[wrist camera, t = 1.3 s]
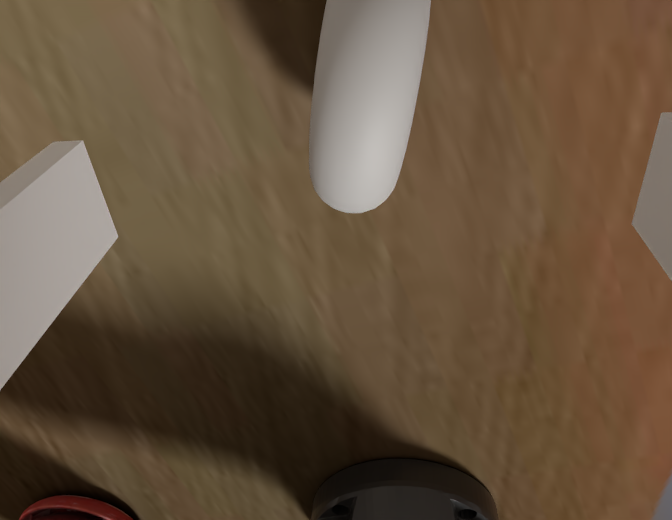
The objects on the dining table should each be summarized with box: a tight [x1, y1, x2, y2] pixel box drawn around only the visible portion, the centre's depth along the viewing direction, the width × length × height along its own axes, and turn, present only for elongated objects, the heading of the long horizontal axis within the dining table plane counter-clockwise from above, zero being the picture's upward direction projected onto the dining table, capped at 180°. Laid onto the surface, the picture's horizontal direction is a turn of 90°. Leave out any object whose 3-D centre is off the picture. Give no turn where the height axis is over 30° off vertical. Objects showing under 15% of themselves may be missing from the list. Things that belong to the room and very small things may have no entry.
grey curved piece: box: [309, 0, 431, 213], centre depth 20 cm, size 10×3×10 cm, turn 173°
